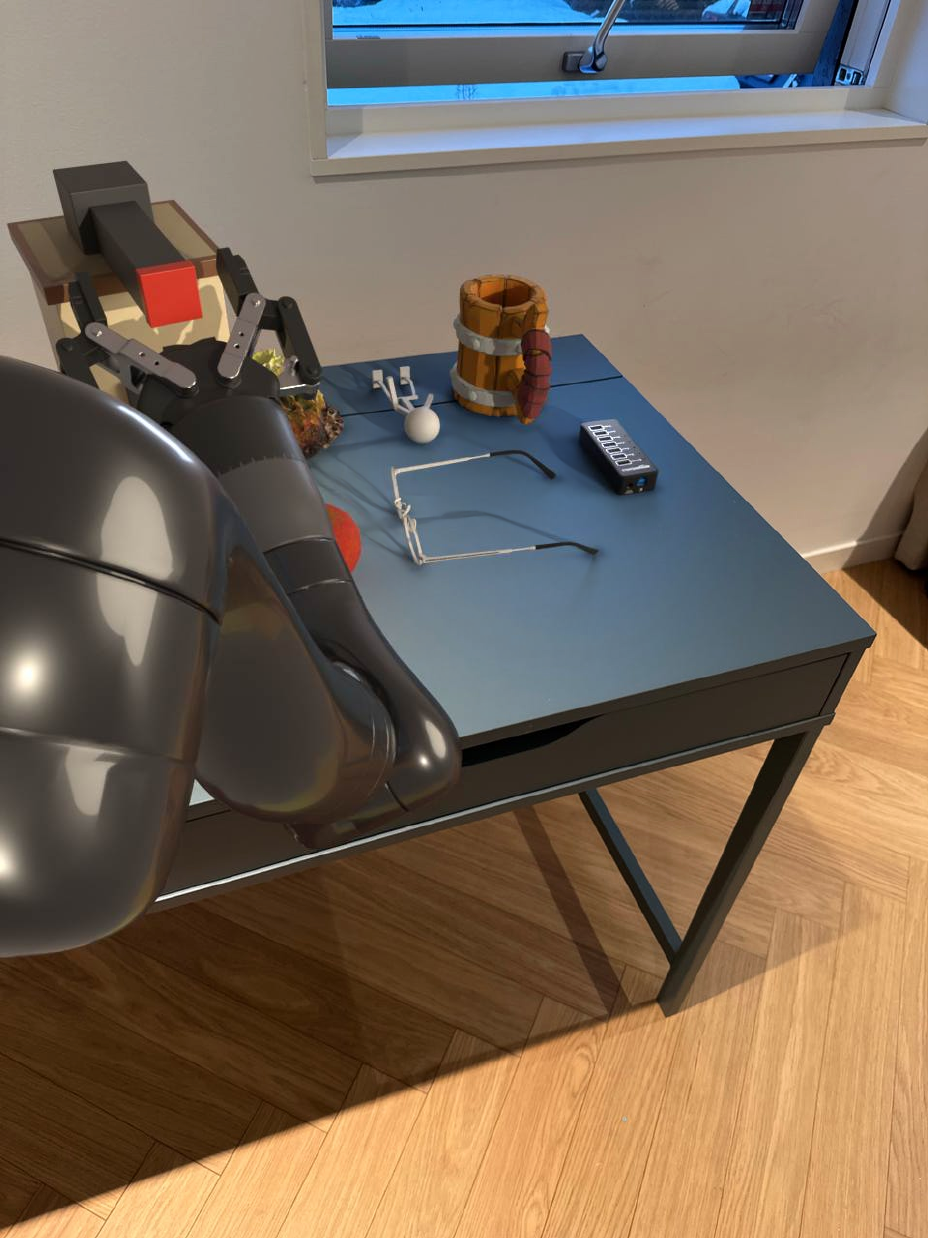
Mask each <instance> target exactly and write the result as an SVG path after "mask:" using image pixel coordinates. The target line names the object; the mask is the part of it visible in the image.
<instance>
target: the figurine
mask: <svg viewBox="0 0 928 1238" xmlns="http://www.w3.org/2000/svg"><path fill="white" fill-rule="evenodd" d="M371 374H372V387H373V389H377V388H378V389H379V388H381V389H382V391H383V394H385V396H386V398H387V399H388V400H389V402H390V403H391V406H392V409H393V410H394V411H396V412H397V413H400V414H402V415H404V416H405V418H404V422H403V423H404V424H403V426H404V427H403V428H404V431H405V432H404V433H405V434H406V435H407V437H408V438H409V439H410V440H411V441H412V442H414V443H417V444H427V443H430V442H432V441H433V440H435V438H436V437H437V436H438V434H439V433H440V429H441V424H440V419H439V417H438V415H437V413H436V412H435V411H433V410H432V409H431V408H430V407H431V405H432V403H433V400H434V393H429V394H428V395H427V398H426V401H425V403H424V404H423V405H422V406H418V407H416V408H415V407H414V406H413V404H412V402H411V401H413V400H418V399H419V396H418V394H416V390H415V387H414V382H413V381H412V380H411V379H410V378H411V376H410V375H411V373H410V366H409V365H406V366H400V367H399V384H400V385H407V384H408V385H409V387H410V392H411V395H407V396H401V397H398V396H397V391H396V388H395V387H396V386H395V383H394V378H393V376H391V375H389V376H386V377H385V380H386V384H387V387H386V385H385V384H384V381H383V380H384V379H383V370H382V369H376V370H375V369H374V370H372V373H371ZM399 402H401V404H402V405H403V406H402V405H400V404H399Z"/></svg>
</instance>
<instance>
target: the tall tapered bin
mask: <svg viewBox="0 0 928 1238" xmlns="http://www.w3.org/2000/svg"><path fill="white" fill-rule="evenodd" d="M151 205H152V211H153V216H154V221H155V224H156V226H157V227H158V228H159V229H160V230H161V231H162V233H163V234H164V235H165V236H166V237H167V238H168V240H169V241H170V242H171V243H172V244H173V245H174V247H175V248H176V249H177V250H178V251H179V252H180V254H181V255H182V256H183V257H184V258H185V259H186V261H187V260H189V261H190V262H191V263H192V264H193V265H194V266H195V272H196V278H197V284H198V290H199V296H200V302H201V308H202V314H203V318H200V319H195V320H190V321H185V322H180V323H175V324H170V325H165V326H159V327H154V328H150V326H149V325H148V323H147V322H146V319H145V315H144V314H143V313H142V311H141V310H140V308H139V307H138V305H137V304H136V303H135V301H134V300H133V298H132V297H131V296H130V294H129V293H128V291H127V290H126V289H125V287H124V286H123V284H122V283H121V281H120V280H119V279H118V277H117V276H116V274H115V273H114V272H113V270H112V269H111V267H110V266H109V264H108V263H107V262H106V260H105V259H104V257H103V256H102V255H101V253H95V254H88V255H85V254H84V253H83V251H82V250H81V248H80V247H79V245H78V244H77V243H76V241H75V240H74V238H73V237H72V235H71V234H70V232H69V231H68V229H67V226H66V222H65V218H64V214H61V215H56V216H48V217H42V218H41V217H40V218H34V219H27V220H21V221H13V222H7V223H6V226H7V229H8V232H9V236H10V239H11V242H12V243H13V245H14V247H15V248H16V251H17V252H18V254H19V256H20V258H21V259H22V261H23V263H24V265H25V266H26V269H27V270H28V272H29V276H30V279H31V282H32V286H33V289H34V292H35V296H36V298H37V303H38V307H39V310H40V313H41V316H42V320H43V324H44V326H45V329H46V333H47V336H48V340H49V344H50V347H51V350H52V354H53V357H54V361H55V364H56V367H57V370H58V371H57V372H60V373H61V371H60V361H59V357H58V355H57V351H56V343H57V341H58V340H59V339H61V338H74V337H76V336H78V335H79V334H80V333H81V331H80V328H79V326H78V323H77V321H76V318H75V316H74V313H73V311H72V308H71V306H70V300H69V294H68V284H69V282H75V275H74V272H76V271H82V270H87V271H88V273H89V276H90V278H91V281H92V283H93V286H94V288H95V291H96V293H97V295H98V298H99V300H100V303H101V305H102V308H103V310H104V313H105V315H106V318H107V323H108V328H110V329H111V330H113V331H115V332H116V333H118V334H119V335H121V336H123V337H124V338H126V339H128V340H130V339H135V340H137V341H139V342H141V343H142V344H144V345H145V346H147V347H149V348H150V349H152V350H154V351H155V352H157V353H158V354H159V353H160V352H162V351H163V347H165V346H170V345H175V344H183V345H190V344H193V343H195V342H197V341H199V340H201V339H205V338H209V337H214V336H215V338H216V340H219V341H224V342H228V340H229V337H230V334H231V333H230V329H229V321H228V315H227V308H226V301H225V294H224V287H223V285H222V283H221V280H220V278H219V276H218V273H217V270H216V253H217V249H219V248H220V247H219V246H218V244H216V243H215V242H214V240H212V238H211V237H209V235H208V234H207V233H206V232H205V231H204V230H203V229H202V227H200V226H199V225H198V224H197V223H196V221H195V220H194V219H193V218H192V217H191V216H190V215H189V214H188V213H187V212H186V211H185V210H184V209H183V208H182V207H181V205H180V204H179V203H177V202H176V200H175V199H169V200H163V201H162V200H161V201H155V202H151ZM89 368H90V370H91V372H92V374H93V376H94V378H95V380H96V382H97V384H98V386H99V388H100V390H102V391H104V392H107V393H109V394H111V395H113V396H114V397H116V398H118V399H119V400H121V401H123V402H124V403H126V404H128V405H129V406H131V407H133V408H136V402H137V399H138V397H139V395H138V394H136V393H135V392H133V391H131V390H130V389H128V388H127V387H125V386H124V385H123V384H122V383H121V381H120V380H119V379H118V378H117V377H116V376H114V375H113V374H111V373H109V372H108V371H106V370H104V369H103V368H101V367H99V366H98V365H96V364H95V365H93V366H91V367H89Z"/></svg>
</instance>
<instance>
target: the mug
mask: <svg viewBox="0 0 928 1238" xmlns="http://www.w3.org/2000/svg"><path fill="white" fill-rule="evenodd" d="M547 300H548V296H547V293H546V290H545V289H544V288H543V287H540V285H538V284H537V283H535V282H534V281H531V280H530V279H527V278H525V277H521V276H517V275H512V274H507V275H506V276H505V275H504V274H494V275H492V274H486V275H482V276H479V277H475V278H473V279H468V280H465V281H464V282H463V283H462V284H461V285H460V288H459V313H458V314H457V316H456V318H455V319H454V320H453V323H452V325H453V328H454V329H455V335H456V339H458V345H457V359H456V362H455V363H454V364H453V366H452V368H451V369H450V370H449V373H448V375H449V378H450V379H451V385H452V388H453V390H452V393H453V397H454V398H455V401H456V402H458V403H459V405H460V406H462V407H463V408H465V409H466V410H467V411H470V412H473V413H475V414H479V415H483V416H488V417H491V416H494V417H497V418H501V417H502V416H503V417H512V416H516V417H517V419H518V421H519V422H520V424H522V425H523V426H525V425H530V424H531V425H532V423H533V422H534V420H535V419H537V418H538V417H539V416H540V413H541V411H542V409H543V407H544V405H546V404H547V401H548V395H549V392H550V389H551V383H550V376H551V375H552V374H553V370H552V366H551V361H552V359H553V357H552V355H553V353H552V342H551V341H552V340H551V336H550V332H551V331H550V327H548V326H547V325H548V324H547V320H548V316H549V312H550V310H549V307H548V304H547Z"/></svg>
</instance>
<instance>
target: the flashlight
mask: <svg viewBox="0 0 928 1238" xmlns="http://www.w3.org/2000/svg"><path fill="white" fill-rule="evenodd" d="M52 175H53V179H54V182H55V186H56V190H57V194H58V197H59V201H60V205H61V211H62V213H63V214H62V215H64V218H65V222H66V226H67V229H68V231H69V232H70V234H71V235H72V237H73V238H74V240H75V241H76V243H77V244H78V245H79V247H80V248H81V250H82V251H83V253H84V254H85V255H88V254H95V253H101V255H102V256H103V257H104V259H105V260H106V262H107V263H108V264H109V266H110V267H111V269H112V270H113V272H114V273H115V274H116V276H117V277H118V279H119V280H120V281H121V283H122V284H123V286H124V287H125V289H126V290H127V291H128V293H129V294H130V296H131V297H132V298H133V300H134V301H135V303H136V304H137V305H138V307H139V308H140V310H141V311H142V313H143V314H144V315H145V319H146V322H147V323H148V325H149V326H150V328H154V327H159V326H165V325H170V324H175V323H180V322H185V321H190V320H195V319H200V318H203V314H202V308H201V302H200V296H199V290H198V284H197V278H196V272H195V266H194V265H193V264H192V263H191V262H190V261H189V260H187V261H186V259H185V258H184V257H183V256H182V255H181V254H180V252H179V251H178V250H177V249H176V248H175V247H174V245H173V244H172V243H171V242H170V241H169V240H168V238H167V237H166V236H165V235H164V234H163V233H162V231H161V230H160V229H159V228H158V227H157V226H156V224H155V221H154V216H153V211H152V205H151V203H152V201H151V197H150V196H151V195H150V191H149V185H148V182H147V181H146V180H145V178H143V177H142V176H141V174H139V172H138V171H137V170H136V169H135V168H134V167H133V166H132V165H131V164H130V163H129V161H128V160H120V161H119V160H118V161H111V162H103V163H94V164H88V165H87V164H86V165H78V166H72V167H63V168H54V169H52Z"/></svg>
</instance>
